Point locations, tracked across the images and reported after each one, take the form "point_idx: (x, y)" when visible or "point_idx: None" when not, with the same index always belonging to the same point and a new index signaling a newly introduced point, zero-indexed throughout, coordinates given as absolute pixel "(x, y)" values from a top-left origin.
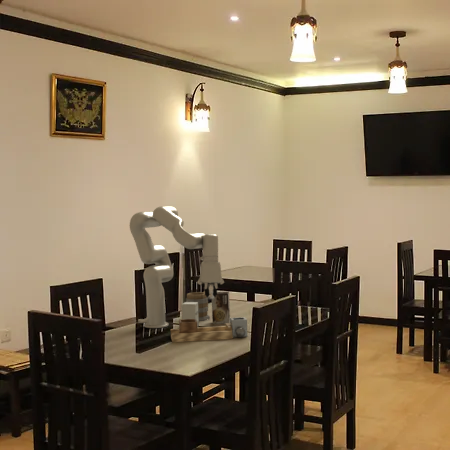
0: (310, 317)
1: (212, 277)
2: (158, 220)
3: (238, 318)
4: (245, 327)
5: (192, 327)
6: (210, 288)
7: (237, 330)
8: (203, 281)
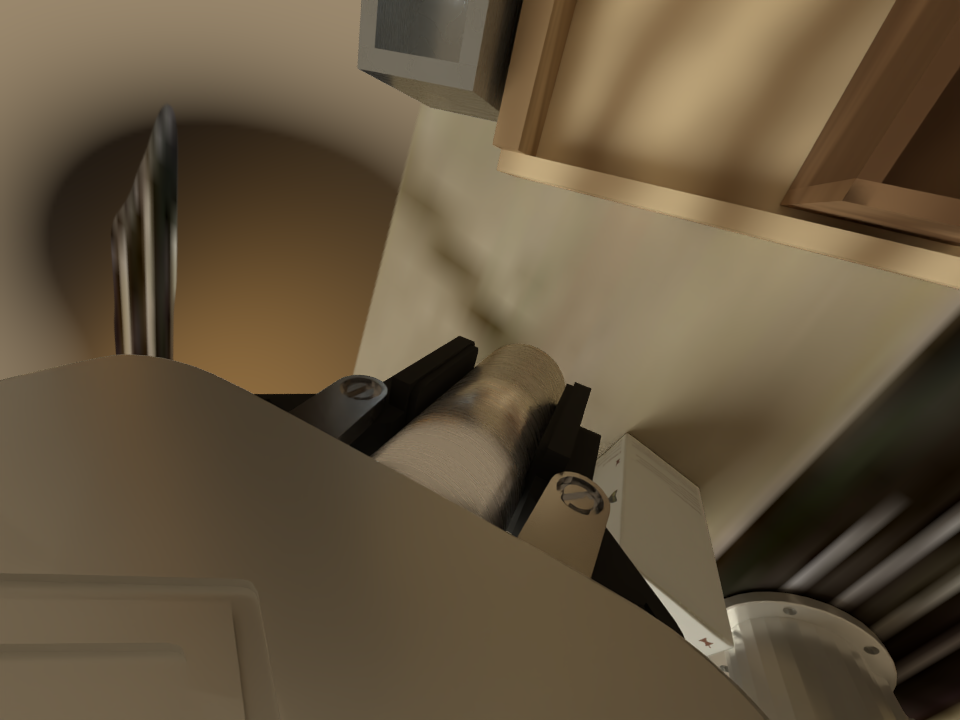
0: (148, 332)
1: (125, 608)
2: None
3: (412, 57)
4: None
5: None
6: (484, 425)
7: None
8: (720, 696)
